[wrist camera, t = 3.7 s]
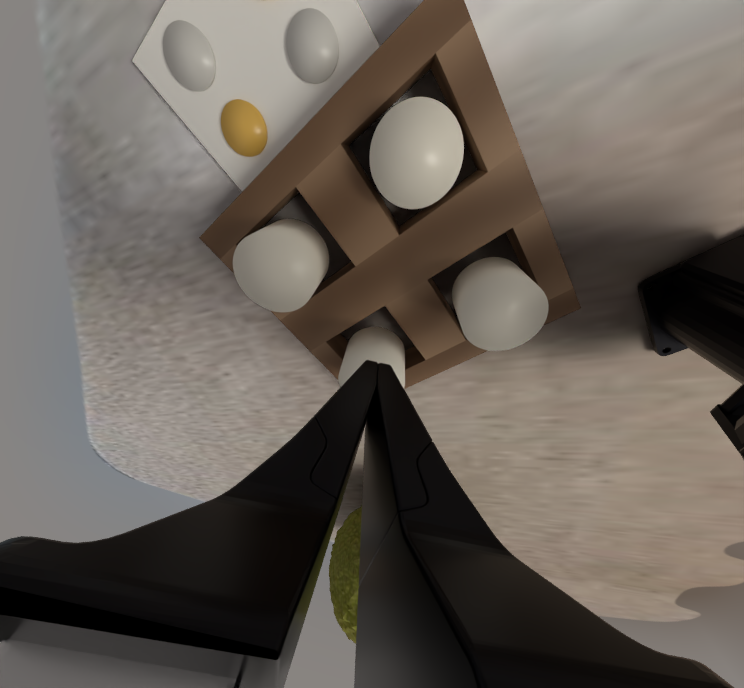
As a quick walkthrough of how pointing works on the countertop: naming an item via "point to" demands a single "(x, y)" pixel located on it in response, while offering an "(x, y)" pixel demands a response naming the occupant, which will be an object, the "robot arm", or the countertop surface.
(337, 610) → the fruit
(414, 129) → the white egg
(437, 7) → the board
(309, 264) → the button
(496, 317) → the pale grey egg
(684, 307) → the robot arm
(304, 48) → the card
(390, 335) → the button
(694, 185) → the countertop surface
